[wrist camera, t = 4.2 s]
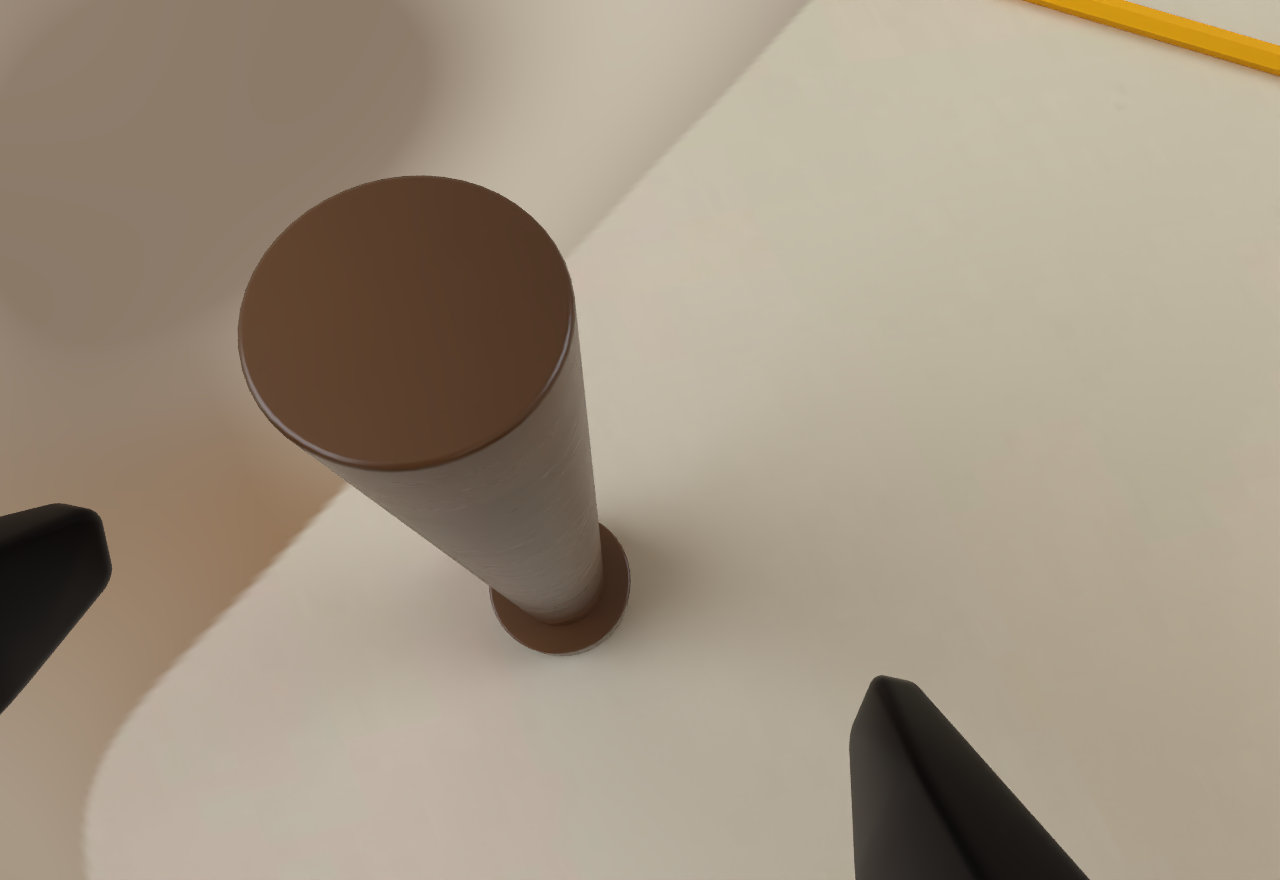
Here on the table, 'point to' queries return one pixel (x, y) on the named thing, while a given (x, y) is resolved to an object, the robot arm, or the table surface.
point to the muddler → (444, 389)
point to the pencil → (1174, 31)
